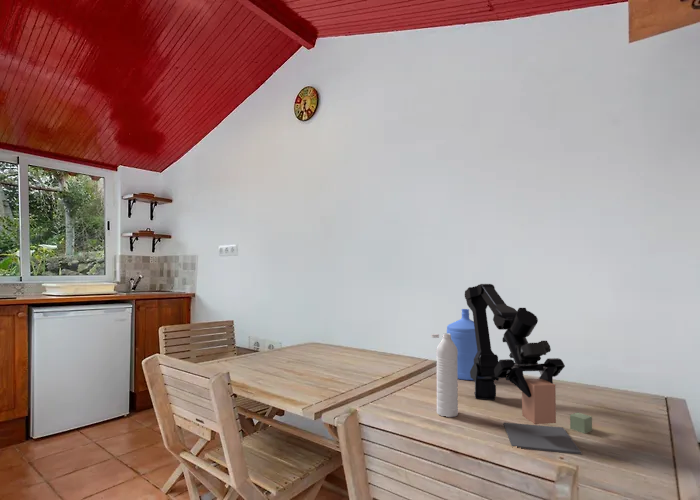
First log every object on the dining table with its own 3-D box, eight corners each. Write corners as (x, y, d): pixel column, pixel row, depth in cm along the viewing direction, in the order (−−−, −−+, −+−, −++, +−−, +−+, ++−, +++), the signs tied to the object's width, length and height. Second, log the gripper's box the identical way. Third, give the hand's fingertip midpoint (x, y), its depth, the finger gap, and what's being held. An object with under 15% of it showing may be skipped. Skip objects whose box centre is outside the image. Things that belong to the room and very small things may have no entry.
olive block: (570, 429, 117) (570, 414, 117) (577, 426, 119) (577, 412, 119) (584, 434, 113) (584, 419, 113) (592, 430, 115) (591, 416, 115)
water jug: (479, 382, 162) (479, 312, 163) (441, 377, 171) (441, 309, 172) (489, 374, 176) (488, 309, 177) (453, 369, 184) (453, 306, 185)
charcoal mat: (512, 447, 104) (512, 445, 104) (503, 424, 120) (503, 422, 120) (581, 454, 100) (581, 452, 101) (562, 429, 116) (562, 427, 116)
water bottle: (450, 409, 132) (450, 331, 133) (462, 416, 126) (461, 334, 127) (426, 412, 129) (426, 332, 130) (437, 419, 123) (437, 336, 124)
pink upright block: (522, 415, 113) (521, 379, 113) (542, 414, 114) (542, 378, 114) (534, 424, 107) (534, 385, 107) (555, 423, 108) (555, 384, 108)
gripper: (498, 330, 114) (519, 381, 103) (560, 329, 116) (588, 379, 105) (485, 353, 122) (504, 403, 110) (544, 351, 124) (568, 400, 112)
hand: (541, 396), depth 109 cm, fingers closed on pink upright block, 6 cm apart
